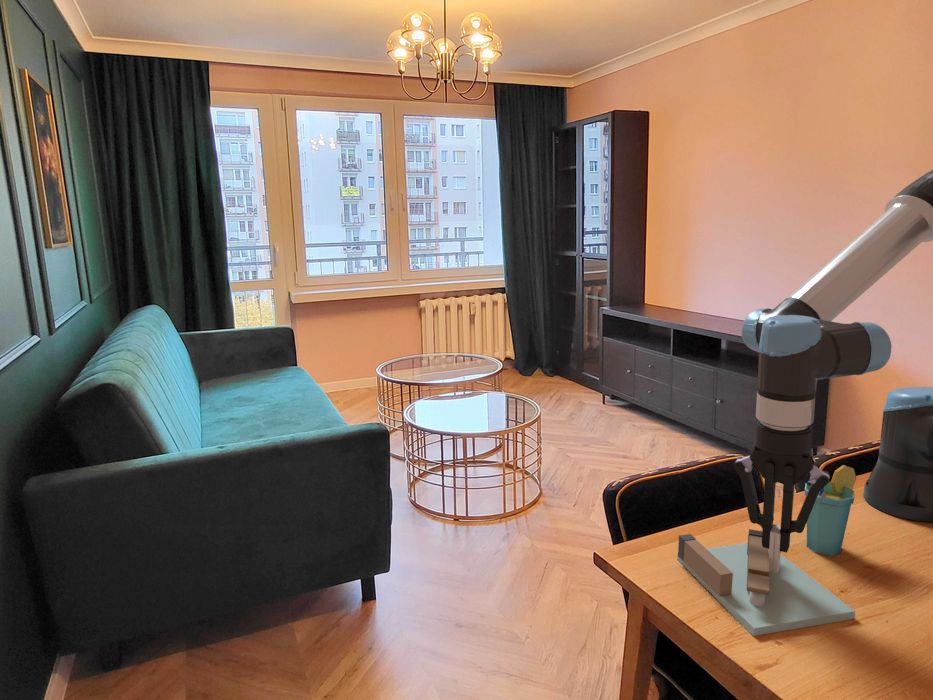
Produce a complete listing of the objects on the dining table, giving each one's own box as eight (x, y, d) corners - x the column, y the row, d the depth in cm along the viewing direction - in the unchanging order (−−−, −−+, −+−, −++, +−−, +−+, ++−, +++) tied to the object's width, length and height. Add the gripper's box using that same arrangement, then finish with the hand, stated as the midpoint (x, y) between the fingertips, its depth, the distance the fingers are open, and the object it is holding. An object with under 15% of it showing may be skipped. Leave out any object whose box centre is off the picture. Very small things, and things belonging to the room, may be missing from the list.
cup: (825, 573, 100) (835, 486, 97) (777, 553, 106) (784, 470, 103) (863, 544, 108) (873, 462, 105) (816, 527, 114) (824, 449, 111)
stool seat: (762, 547, 108) (764, 520, 107) (854, 618, 89) (858, 587, 88) (674, 559, 105) (676, 532, 104) (750, 636, 86) (753, 604, 85)
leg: (768, 610, 89) (770, 586, 88) (745, 605, 90) (747, 581, 89) (767, 553, 103) (769, 532, 102) (747, 549, 105) (748, 529, 104)
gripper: (836, 420, 91) (823, 566, 96) (741, 408, 98) (734, 545, 103) (833, 437, 85) (819, 592, 90) (731, 423, 92) (724, 568, 97)
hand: (773, 567), depth 97 cm, fingers closed
